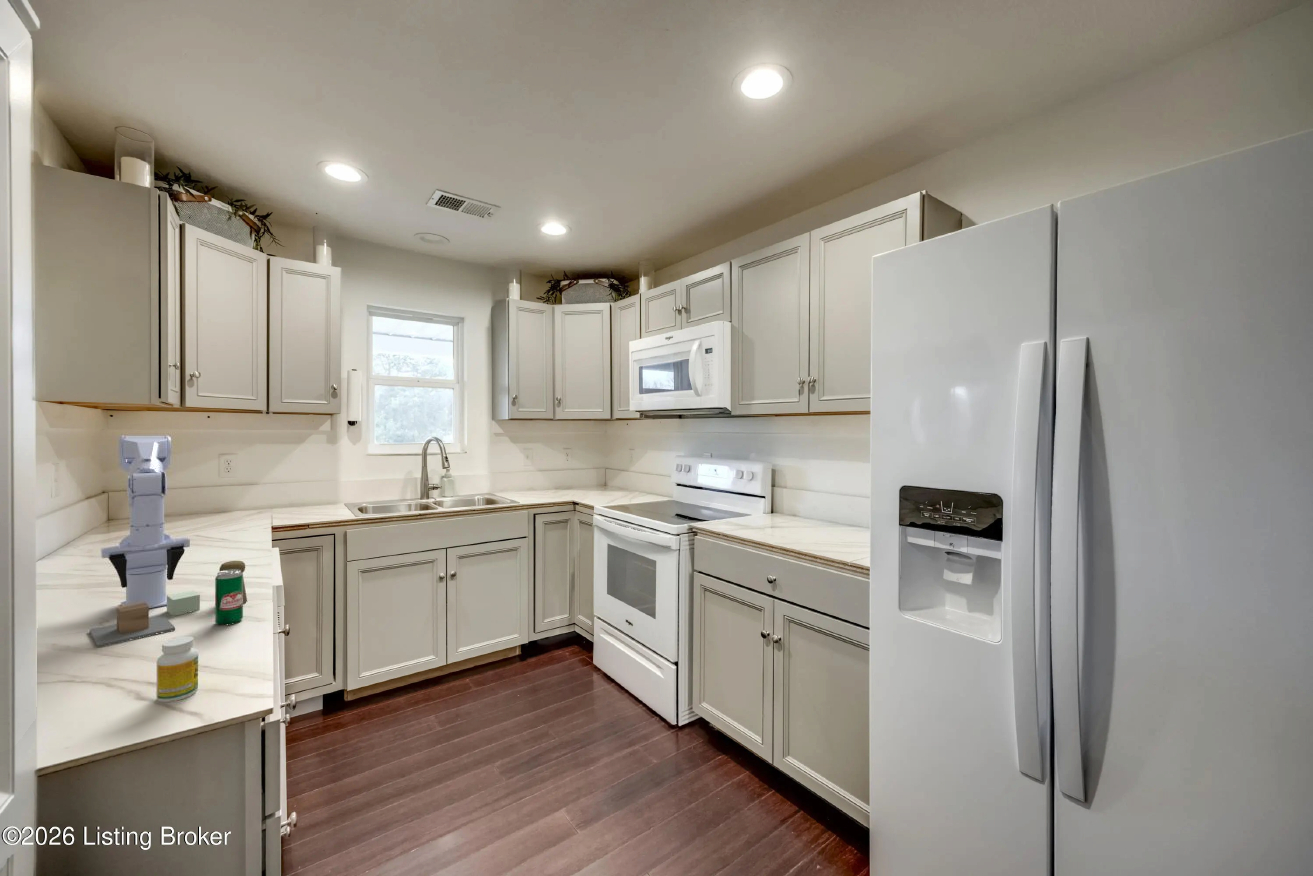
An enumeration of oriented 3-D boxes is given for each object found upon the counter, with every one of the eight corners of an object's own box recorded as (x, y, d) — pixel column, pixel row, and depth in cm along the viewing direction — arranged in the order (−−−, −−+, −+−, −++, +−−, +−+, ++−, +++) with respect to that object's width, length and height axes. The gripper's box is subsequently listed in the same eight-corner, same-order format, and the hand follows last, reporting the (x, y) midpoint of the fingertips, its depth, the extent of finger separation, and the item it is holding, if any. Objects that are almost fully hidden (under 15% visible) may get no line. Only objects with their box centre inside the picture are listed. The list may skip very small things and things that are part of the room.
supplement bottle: (153, 695, 90) (153, 641, 90) (194, 684, 95) (194, 632, 94) (159, 707, 87) (159, 650, 87) (201, 694, 91) (201, 640, 91)
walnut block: (116, 628, 116) (116, 606, 116) (144, 623, 119) (144, 601, 119) (120, 634, 113) (120, 611, 113) (148, 628, 117) (148, 606, 117)
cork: (230, 609, 131) (230, 565, 131) (210, 606, 132) (210, 563, 132) (253, 601, 137) (253, 559, 136) (234, 598, 138) (234, 557, 138)
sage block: (166, 611, 128) (166, 595, 128) (193, 606, 133) (193, 590, 132) (173, 616, 126) (173, 600, 125) (199, 610, 130) (199, 594, 130)
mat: (89, 632, 115) (89, 629, 115) (163, 616, 125) (163, 614, 125) (97, 647, 108) (97, 644, 108) (175, 630, 117) (175, 627, 117)
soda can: (220, 628, 119) (220, 576, 119) (211, 622, 122) (211, 572, 122) (246, 621, 124) (246, 571, 123) (237, 616, 126) (237, 567, 126)
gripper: (104, 531, 112) (104, 594, 113) (193, 522, 124) (193, 579, 124) (99, 527, 116) (100, 587, 117) (185, 518, 128) (185, 573, 128)
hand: (147, 582), depth 121 cm, fingers open, 7 cm apart
